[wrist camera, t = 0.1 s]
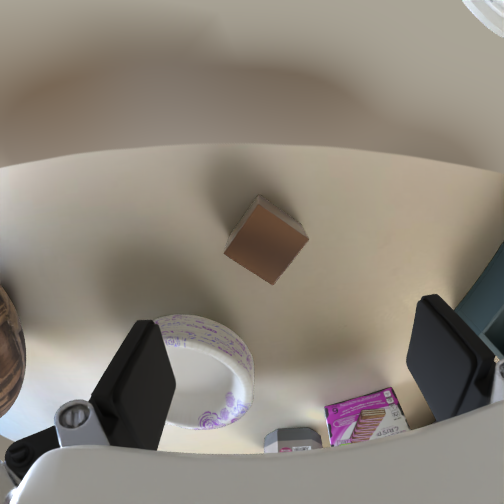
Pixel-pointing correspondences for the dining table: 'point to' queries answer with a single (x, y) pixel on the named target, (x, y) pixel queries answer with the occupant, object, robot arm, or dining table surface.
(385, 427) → the candy bar box
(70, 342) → the dining table surface
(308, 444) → the liquor
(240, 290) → the dining table surface
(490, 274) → the square open bin
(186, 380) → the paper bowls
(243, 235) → the walnut block
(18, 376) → the sphere
